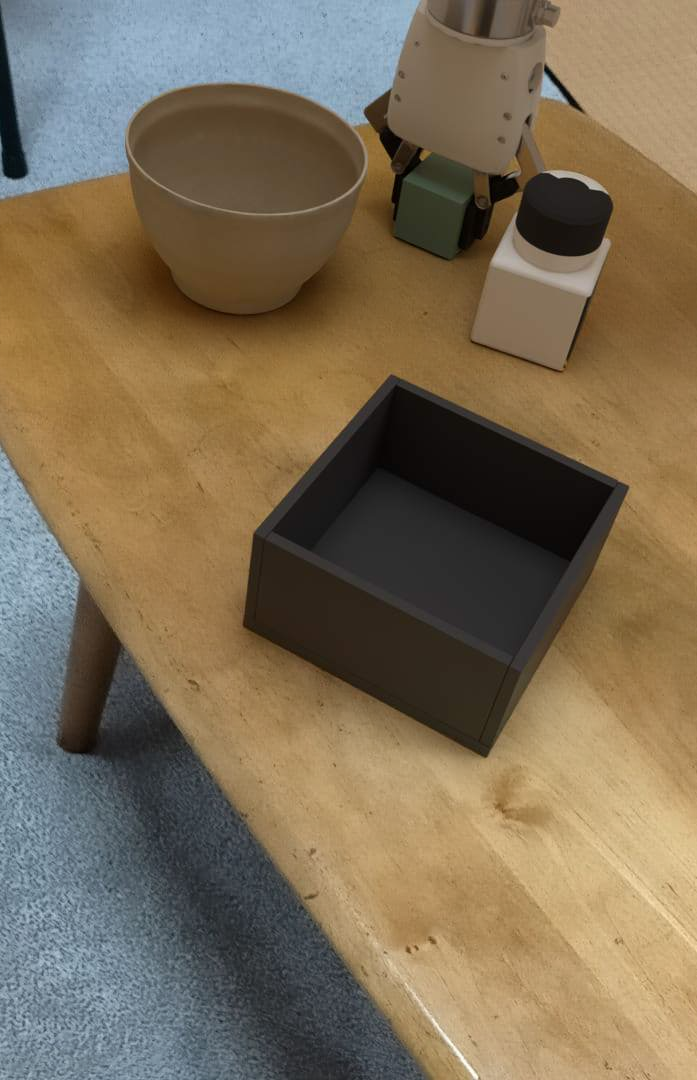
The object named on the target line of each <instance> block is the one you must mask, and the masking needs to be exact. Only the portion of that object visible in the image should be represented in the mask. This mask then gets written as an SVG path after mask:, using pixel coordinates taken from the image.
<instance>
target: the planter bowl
mask: <svg viewBox="0 0 697 1080" xmlns="http://www.w3.org/2000/svg"><path fill="white" fill-rule="evenodd" d="M124 147H125V148H124V149H125V156H126V159H127V163H128V169H129V180H130V187H131V193H132V198H133V202H134V206H135V209H136V213H137V216H138V218H139V220H140V223H141V225H142V227H143V230H144V232H145V233H146V236H147V238H148V240H149V241H150V244H151V245H152V247H153V248H154V250H155V251H156V253H157V254H158V256H159V257H160V258H161V260H162V261H163V262H164V264H165V265H166V266H167V267H168V268H169V269H170V274H171V277H172V279H173V280H172V281H174V284H175V285H176V287H178V289H179V290H180V291H181V293H182V294H184V295H185V296H186V297H188V298H189V299H190V300H191V301H194V302H195V303H197V304H199V305H201V306H203V307H205V308H208V309H211V310H213V311H217V312H221V313H227V314H233V315H254V314H262V313H266V312H267V313H268V312H270V311H274V310H277V309H279V308H281V307H283V306H284V305H287V304H289V302H291V301H292V300H293V299H294V298H295V297H296V296H297V294H298V293H299V291H300V290H301V287H302V285H303V284H304V283H305V282H306V281H308V280H309V279H310V278H312V277H313V275H315V274H316V273H317V272H318V271H319V270H320V269H321V268H322V267H323V265H324V264H325V263H327V261H328V260H329V259H330V257H331V256H332V255H333V254H334V253H335V251H336V250H337V248H338V247H339V245H340V243H341V242H342V240H343V238H344V237H345V235H346V233H347V231H348V229H349V226H350V224H351V221H352V220H353V217H354V214H355V211H356V207H357V205H358V201H359V196H360V192H361V190H362V188H363V185H364V184H365V181H366V177H367V174H368V169H369V152H368V149H367V145H366V144H365V142H364V140H363V138H362V137H361V135H360V134H359V132H358V131H357V130H356V128H355V127H354V126H352V125H351V123H349V122H348V121H347V120H346V119H345V118H344V117H342V116H341V115H340V114H339V113H337V112H336V111H334V110H333V109H331V108H329V107H327V106H326V105H324V104H322V103H321V102H319V101H316V100H315V99H312V98H310V97H307V96H305V95H302V94H299V93H298V92H297V93H296V92H293V91H290V90H287V89H283V88H279V87H273V86H270V85H264V84H260V83H254V82H253V83H252V82H251V83H250V82H238V81H237V82H235V81H221V82H220V81H218V82H203V83H196V84H189V85H184V86H180V87H179V86H178V87H176V88H173V89H169V90H166V91H164V92H161V93H159V94H158V95H155V96H154V97H152V98H150V99H149V100H147V101H145V102H144V103H142V105H140V106H139V107H138V108H137V109H136V111H135V112H134V113H133V114H132V116H131V117H130V118H129V121H128V123H127V124H126V127H125V132H124Z"/></svg>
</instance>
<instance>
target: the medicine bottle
mask: <svg viewBox="0 0 697 1080" xmlns="http://www.w3.org/2000/svg"><path fill="white" fill-rule="evenodd" d="M521 195H522V196H521V199H520V202H519V206H518V210H517V211H515V213H514V214H513V216H512V218H511V220H510V222H509V224H508V226H507V228H506V230H505V232H504V234H503V236H502V238H501V240H500V242H499V244H498V246H497V248H496V250H495V251H494V254H493V256H492V258H491V259H490V262H489V266H488V269H487V273H486V277H485V281H484V285H483V289H482V292H481V296H480V300H479V303H478V307H477V311H476V315H475V319H474V321H473V326H472V330H471V334H470V340H471V341H472V342H474V343H476V344H479V345H482V346H486V347H488V348H491V349H494V350H497V351H500V352H503V353H506V354H507V355H508V354H509V355H512V356H515V357H517V358H521V359H523V360H527V361H529V362H532V363H535V364H537V365H541V366H544V367H547V368H550V369H553V370H556V371H560V372H563V371H565V369H566V368H567V365H568V363H569V361H570V359H571V356H572V353H573V351H574V349H575V346H576V343H577V341H578V338H579V336H580V332H581V331H582V327H583V325H584V323H585V320H586V318H587V315H588V312H589V308H590V306H591V303H592V300H593V298H594V295H595V292H596V289H597V286H598V283H599V280H600V277H601V274H602V271H603V268H604V266H605V263H606V260H607V257H608V254H609V252H610V249H611V245H612V244H611V243H612V241H611V240H610V239H609V238H607V237H605V234H606V232H607V229H608V226H609V224H610V223H609V222H610V220H611V217H612V215H613V211H614V202H613V200H612V197H611V196H610V194H609V192H608V191H607V190H606V188H605V187H604V186H603V185H602V184H600V183H599V182H598V181H596V180H594V179H593V178H591V177H588V176H586V175H584V174H581V173H579V172H575V171H569V170H563V169H554V170H553V169H551V170H547V171H545V172H542V173H539V174H537V175H536V176H534V177H532V178H531V179H530V180H529V181H528V182H527V183H526V185H525V187H524V191H523V192H522V194H521Z"/></svg>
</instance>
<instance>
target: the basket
mask: <svg viewBox="0 0 697 1080" xmlns="http://www.w3.org/2000/svg"><path fill="white" fill-rule="evenodd" d="M629 489H630V486H629V485H628V484H627V483H624V482H622V481H619V480H618V479H616V478H613V476H612V477H611V476H610V475H608V474H606V473H603V472H601V471H599V470H597V469H595V468H592V467H590V466H588V465H587V464H584V463H582V462H581V461H577V460H576V459H573V458H572V457H569V456H567V455H566V454H563V453H561V452H559V451H557V450H554V449H553V448H550V447H548V446H546V445H544V444H542V443H540V442H538V441H536V440H533V439H531V438H529V437H527V436H524V435H522V434H521V433H518V432H516V431H514V430H512V429H511V428H508V427H506V426H503V425H501V424H500V423H497V422H495V421H493V420H491V419H488V418H486V417H485V416H482V415H480V414H478V413H476V412H473V411H472V410H469V409H467V408H465V407H463V406H461V405H459V404H457V403H454V402H453V401H451V400H448V399H446V398H444V397H442V396H441V395H437V394H435V393H433V392H431V391H429V390H427V389H425V388H423V387H420V386H418V385H416V384H414V383H412V382H410V381H408V380H406V379H404V378H400V377H399V376H397V375H394V374H392V373H391V374H389V375H388V377H387V378H386V379H385V380H384V381H383V383H382V384H381V385H380V386H379V387H378V389H376V390H375V392H374V393H373V394H372V396H371V397H369V399H368V400H367V401H366V402H365V403H364V405H362V407H361V408H360V409H359V410H358V412H357V413H356V414H355V415H354V416H353V417H352V418H351V420H349V422H348V423H347V424H346V426H345V427H344V428H343V429H342V430H341V431H340V432H339V433H338V434H337V436H336V437H335V438H334V439H333V440H332V441H331V443H330V444H329V445H328V446H327V447H326V448H325V450H324V451H323V452H322V453H321V454H320V455H319V457H317V459H316V460H315V461H314V462H313V463H312V465H310V467H309V468H308V469H307V470H306V471H305V473H304V474H303V475H302V476H301V477H300V478H299V479H298V481H297V482H296V483H295V484H294V485H293V487H292V488H291V489H290V490H289V491H288V492H287V494H285V496H284V497H283V498H282V499H281V500H280V501H279V503H278V504H277V505H276V506H275V507H274V508H273V509H272V511H271V512H270V513H269V514H268V515H267V516H266V518H265V519H264V520H263V521H262V522H261V523H260V524H259V526H258V527H257V528H256V529H255V530H254V531H253V533H252V542H251V551H250V560H249V569H248V576H247V577H248V578H247V587H246V596H245V597H246V598H245V604H244V614H243V621H242V626H243V627H244V628H246V629H248V630H250V631H252V632H254V633H255V634H257V635H259V636H261V637H262V638H265V639H266V640H268V641H270V642H272V643H274V644H276V645H278V646H279V647H281V648H283V649H285V650H287V651H289V652H290V653H292V654H294V655H296V656H297V657H300V658H301V659H303V660H305V661H307V662H309V663H311V664H312V665H315V666H316V667H317V668H320V669H322V670H323V671H326V672H327V673H329V674H331V675H333V676H335V677H336V678H338V679H340V680H342V681H344V682H345V683H347V684H350V685H351V686H353V687H355V688H356V689H359V690H360V691H362V692H364V693H366V694H367V695H370V696H371V697H373V698H375V699H377V700H379V701H380V702H383V703H385V704H386V705H389V706H390V707H391V708H393V709H396V710H397V711H399V712H401V713H402V714H405V715H407V716H408V717H410V718H412V719H414V720H416V721H417V722H419V723H421V724H423V725H424V726H427V727H429V728H430V729H432V730H435V731H436V732H437V733H439V734H441V735H443V736H445V737H447V738H449V739H450V740H452V741H454V742H456V743H458V744H460V745H462V746H463V747H466V748H467V749H469V750H471V751H473V752H474V753H477V754H479V755H480V756H482V757H484V758H488V756H489V754H490V753H491V751H492V750H493V748H494V746H495V744H496V743H497V740H498V739H499V737H500V735H501V734H502V732H503V730H504V728H505V727H506V725H507V723H508V721H509V720H510V718H511V716H512V714H513V713H514V711H515V709H516V707H517V705H518V704H519V702H520V700H521V698H522V697H523V695H524V693H525V691H526V689H528V687H529V685H530V683H531V681H532V679H533V677H534V675H535V674H536V673H537V670H538V669H539V667H540V666H541V663H542V662H543V660H544V658H545V657H546V655H547V653H548V651H549V649H550V647H551V646H552V644H553V642H554V641H555V639H556V637H557V635H558V634H559V632H560V630H561V628H562V627H563V625H564V623H565V622H566V620H567V618H568V616H569V614H570V613H571V611H572V609H573V607H574V606H575V604H576V603H577V601H578V599H579V597H580V595H581V594H582V592H583V590H584V589H585V587H586V584H587V583H588V581H589V579H590V578H591V575H592V573H593V571H594V569H595V567H596V564H597V562H598V561H599V557H600V555H601V553H602V551H603V549H604V546H605V544H606V542H607V540H608V538H609V535H610V533H611V530H612V528H613V526H614V523H615V521H616V519H617V518H618V517H617V516H618V514H619V512H620V510H621V507H622V505H623V503H624V501H625V498H626V496H627V494H628V491H629Z"/></svg>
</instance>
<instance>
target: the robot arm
mask: <svg viewBox="0 0 697 1080" xmlns="http://www.w3.org/2000/svg"><path fill="white" fill-rule="evenodd" d="M561 11H562V8H561V7H560V6H557V5H555V4H552V1H550V0H419V2H418V4H417V7H416V9H415V11H414V12H413V13H414V14H413V16H412V19H411V21H410V24H409V26H408V29H407V33H406V35H405V38H404V40H403V45H402V47H401V51H400V54H399V58H398V61H397V65H396V69H395V73H394V77H393V81H392V85H391V87H389V89H387V90H386V91H384V92H383V93H382V94H381V95H379V96H378V97H377V98H375V99H374V100H372V101H371V102H370V103H369V104H368V105H367V106H365V107H364V109H363V115H364V118H365V119H366V120H367V122H368V123H369V125H370V126H371V127H372V129H373V130H374V132H375V133H376V134H378V135H379V138H378V139H379V141H380V143H381V145H382V147H383V149H384V150H385V152H386V153H387V155H388V158H390V169H391V170H392V172H393V173H394V179H393V180H394V181H393V186H392V192H391V198H390V203H392V204H394V205H393V211H392V221H393V222H395V223H396V217H397V212H398V206H399V200H400V195H401V189H402V183H403V179H404V178H405V177H406V176H407V175H408V174H409V173H410V172H411V171H413V170H414V169H415V168H416V167H417V166H418V165H419V164H420V163H421V162H422V161H423V159H421V158H420V157H421V155H422V154H423V152H424V150H426V151H428V152H430V153H431V152H433V153H435V154H438V155H440V156H443V157H445V158H448V159H450V160H452V161H455V162H457V163H460V164H462V165H465V166H467V167H470V168H472V169H473V182H474V199H473V200H472V201H471V202H470V203H469V204H468V206H467V208H466V212H465V216H464V221H463V225H462V229H461V234H460V238H459V243H458V247H459V250H461V251H463V252H467V251H468V250H469V248H471V246H473V244H474V243H475V242H476V241H477V240H478V241H482V240H483V239H484V238H485V237H486V235H487V233H488V231H489V229H490V225H491V220H492V216H493V212H494V208H495V204H497V203H499V202H501V201H503V200H506V199H508V198H510V197H513V196H514V195H515V194H517V193H523V191H524V187H525V185H526V183H527V182H528V181H529V180H530V179H531V178H532V177H534V176H536V175H537V174H539V173H542V172H545V171H548V169H547V167H546V165H545V162H544V160H543V157H542V155H541V152H540V150H539V148H538V146H537V143H536V141H535V138H534V132H535V128H536V125H537V124H536V123H537V118H538V113H539V107H540V101H541V96H542V95H541V94H542V90H543V81H544V75H545V64H546V52H547V51H546V50H547V30H546V28H545V27H544V26H547V27H549V28H551V29H553V28H555V26H556V25H557V23H558V20H559V18H560V16H561ZM515 158H516V161H517V163H518V165H519V168H520V170H519V171H515V170H514V171H512V172H510V173H508V174H506V173H507V172H508V171H509V169H510V166H511V164H512V161H513V160H514V159H515Z"/></svg>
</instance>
